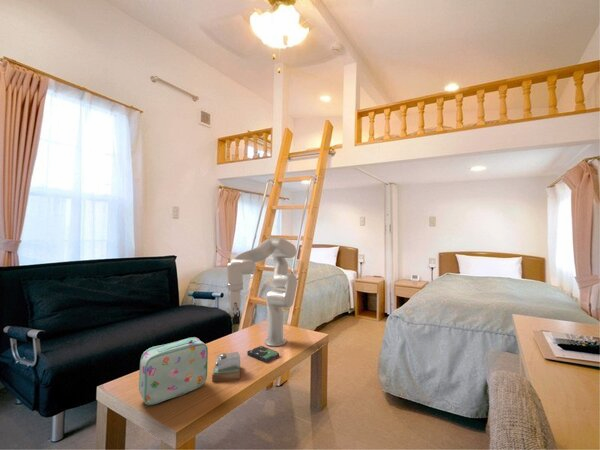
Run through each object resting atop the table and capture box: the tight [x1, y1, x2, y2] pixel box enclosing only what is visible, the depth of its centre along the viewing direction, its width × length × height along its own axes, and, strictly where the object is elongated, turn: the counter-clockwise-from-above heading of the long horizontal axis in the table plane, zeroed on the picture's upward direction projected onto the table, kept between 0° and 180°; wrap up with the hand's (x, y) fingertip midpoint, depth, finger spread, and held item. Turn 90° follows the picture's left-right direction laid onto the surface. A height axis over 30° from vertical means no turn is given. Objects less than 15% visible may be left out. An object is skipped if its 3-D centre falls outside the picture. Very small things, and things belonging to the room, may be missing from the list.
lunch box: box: [138, 336, 209, 406], centre depth 121 cm, size 27×10×21 cm, turn 133°
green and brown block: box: [211, 364, 241, 382], centre depth 136 cm, size 12×12×3 cm
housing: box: [214, 351, 241, 371], centre depth 136 cm, size 11×6×6 cm, turn 113°
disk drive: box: [246, 345, 280, 364], centre depth 155 cm, size 10×3×15 cm
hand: (236, 320), depth 143 cm, fingers open, 9 cm apart
